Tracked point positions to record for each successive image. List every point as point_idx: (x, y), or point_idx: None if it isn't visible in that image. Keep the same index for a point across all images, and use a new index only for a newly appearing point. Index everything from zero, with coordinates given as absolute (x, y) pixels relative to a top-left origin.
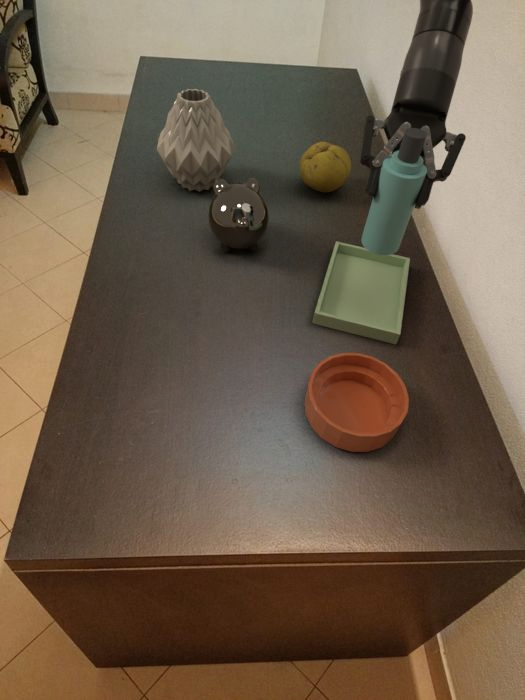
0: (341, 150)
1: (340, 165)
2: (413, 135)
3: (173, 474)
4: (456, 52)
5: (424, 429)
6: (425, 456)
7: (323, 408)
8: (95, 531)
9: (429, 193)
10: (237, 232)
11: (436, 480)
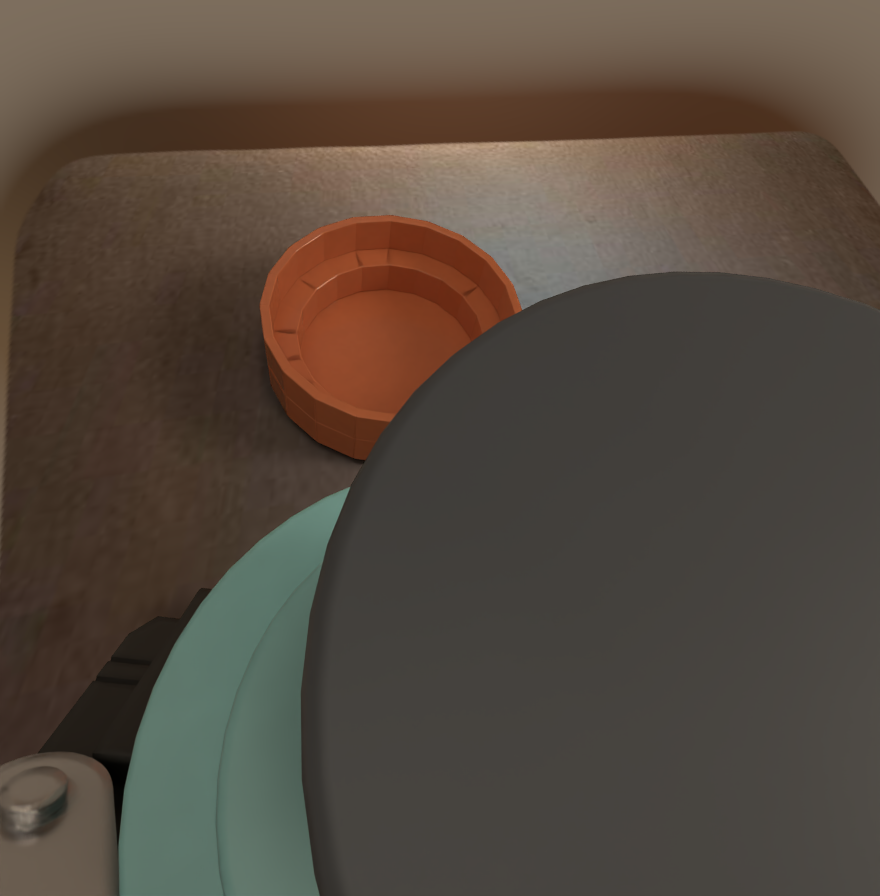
0: None
1: None
2: (874, 411)
3: (692, 222)
4: None
5: (204, 340)
6: (216, 283)
7: (458, 349)
8: (749, 154)
9: (106, 674)
10: None
11: (202, 242)
